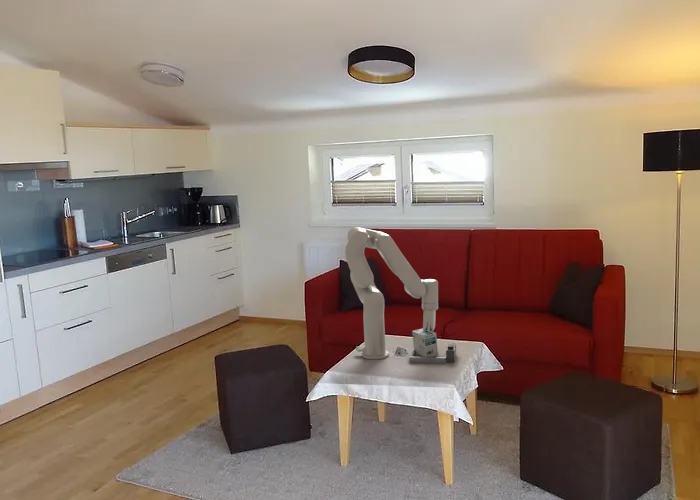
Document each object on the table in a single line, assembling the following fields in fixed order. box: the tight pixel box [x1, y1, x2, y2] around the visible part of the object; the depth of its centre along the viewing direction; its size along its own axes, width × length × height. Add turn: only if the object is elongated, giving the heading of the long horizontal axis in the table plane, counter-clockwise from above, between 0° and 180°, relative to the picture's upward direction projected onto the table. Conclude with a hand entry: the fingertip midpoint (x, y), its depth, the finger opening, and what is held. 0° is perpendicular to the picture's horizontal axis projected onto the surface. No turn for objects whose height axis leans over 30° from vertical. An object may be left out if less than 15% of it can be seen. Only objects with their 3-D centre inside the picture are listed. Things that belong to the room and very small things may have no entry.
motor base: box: [408, 342, 457, 365], centre depth 280 cm, size 20×16×7 cm
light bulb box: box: [411, 327, 439, 357], centre depth 285 cm, size 11×7×11 cm, turn 27°
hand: (429, 343), depth 292 cm, fingers closed
